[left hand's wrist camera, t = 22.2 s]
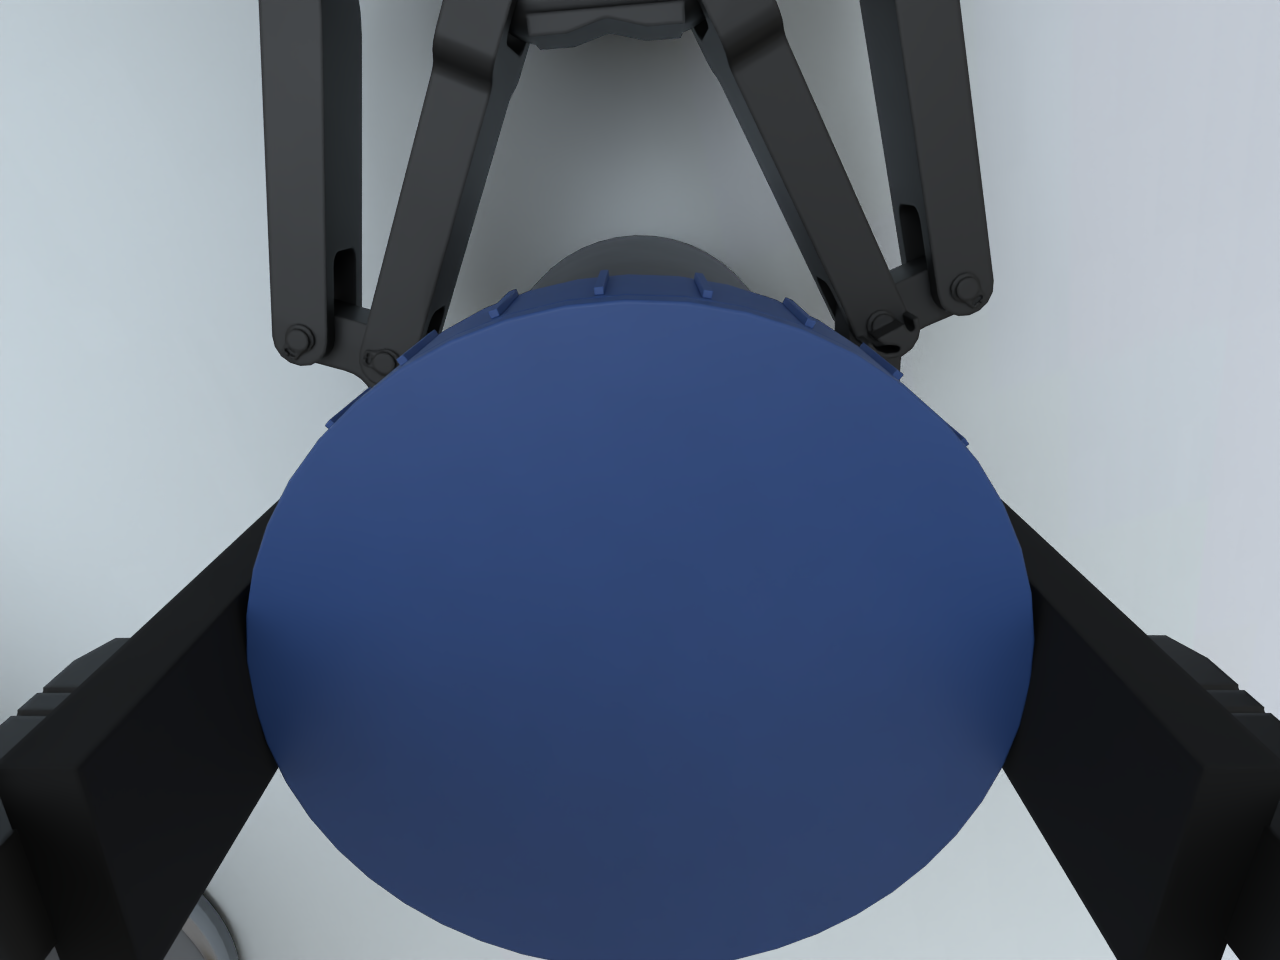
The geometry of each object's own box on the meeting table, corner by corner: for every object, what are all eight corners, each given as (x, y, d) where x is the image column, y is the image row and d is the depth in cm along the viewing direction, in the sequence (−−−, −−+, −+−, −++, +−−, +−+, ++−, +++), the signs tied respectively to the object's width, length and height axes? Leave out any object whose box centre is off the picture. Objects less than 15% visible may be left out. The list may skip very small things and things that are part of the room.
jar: (826, 391, 26) (1074, 694, 11) (623, 543, 28) (604, 973, 13) (659, 173, 24) (691, 189, 9) (451, 356, 25) (189, 622, 11)
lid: (653, 945, 15) (654, 1066, 13) (175, 618, 12) (85, 706, 10) (1110, 596, 12) (1202, 681, 10) (620, 90, 10) (614, 71, 8)
